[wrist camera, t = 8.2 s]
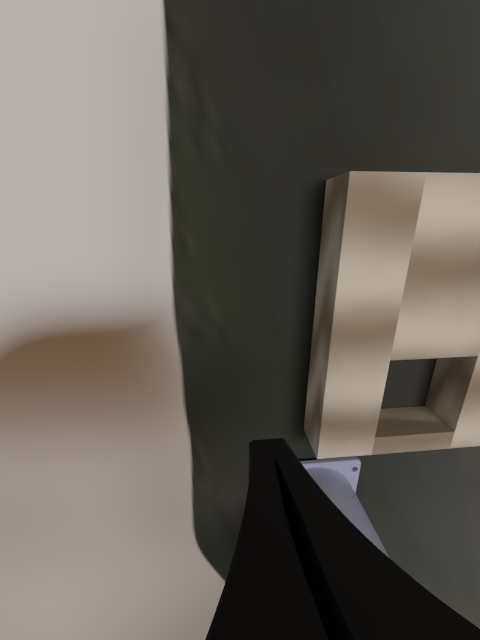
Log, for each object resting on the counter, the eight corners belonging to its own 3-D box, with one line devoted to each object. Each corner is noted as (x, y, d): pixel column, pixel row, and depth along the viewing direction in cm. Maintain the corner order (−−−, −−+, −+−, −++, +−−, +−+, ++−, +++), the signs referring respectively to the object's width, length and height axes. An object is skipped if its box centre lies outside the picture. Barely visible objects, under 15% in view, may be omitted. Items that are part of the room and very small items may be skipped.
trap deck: (549, 411, 25) (593, 436, 22) (303, 429, 23) (317, 459, 20) (649, 183, 19) (727, 176, 16) (326, 179, 17) (350, 171, 14)
